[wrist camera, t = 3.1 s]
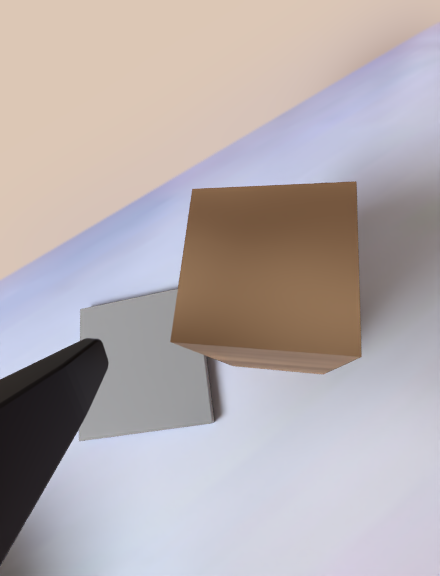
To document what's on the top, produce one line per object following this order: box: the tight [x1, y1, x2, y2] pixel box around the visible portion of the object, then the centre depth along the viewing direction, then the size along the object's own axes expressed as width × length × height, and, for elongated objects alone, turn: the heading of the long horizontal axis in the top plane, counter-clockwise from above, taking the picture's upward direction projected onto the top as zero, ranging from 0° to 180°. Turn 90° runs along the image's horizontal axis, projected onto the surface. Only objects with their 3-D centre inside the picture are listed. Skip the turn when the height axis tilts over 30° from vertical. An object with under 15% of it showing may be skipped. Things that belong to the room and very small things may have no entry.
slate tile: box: [79, 289, 214, 441], centre depth 19 cm, size 8×8×1 cm
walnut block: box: [170, 182, 361, 374], centre depth 14 cm, size 5×5×10 cm
